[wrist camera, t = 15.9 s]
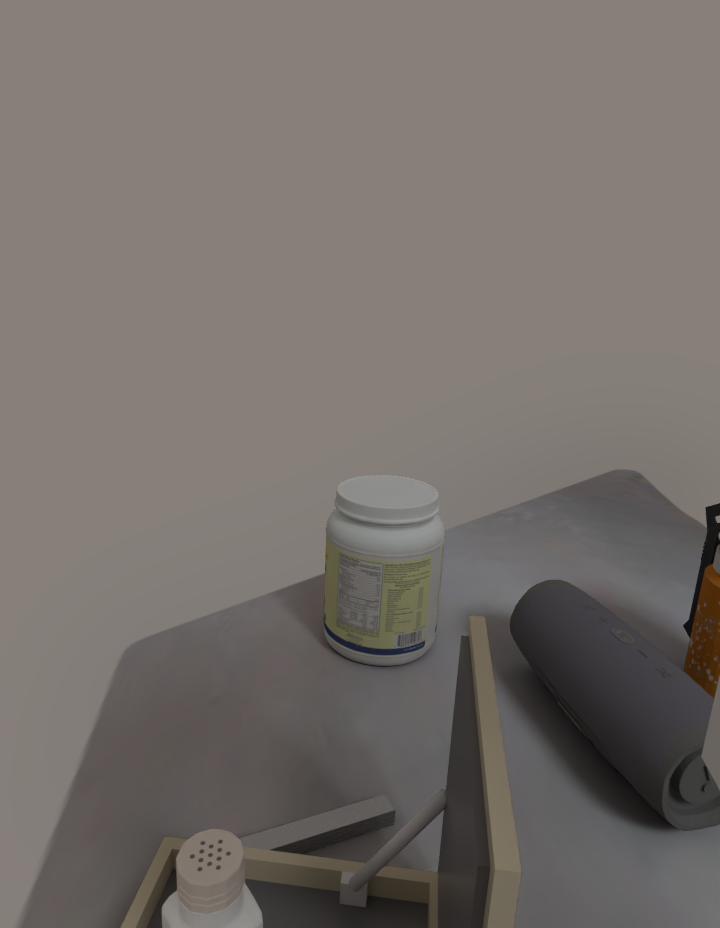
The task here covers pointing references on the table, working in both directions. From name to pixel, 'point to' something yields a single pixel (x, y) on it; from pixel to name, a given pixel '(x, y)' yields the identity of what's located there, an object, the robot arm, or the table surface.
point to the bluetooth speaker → (622, 698)
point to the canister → (706, 612)
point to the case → (398, 843)
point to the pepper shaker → (211, 885)
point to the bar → (325, 827)
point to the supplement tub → (383, 569)
